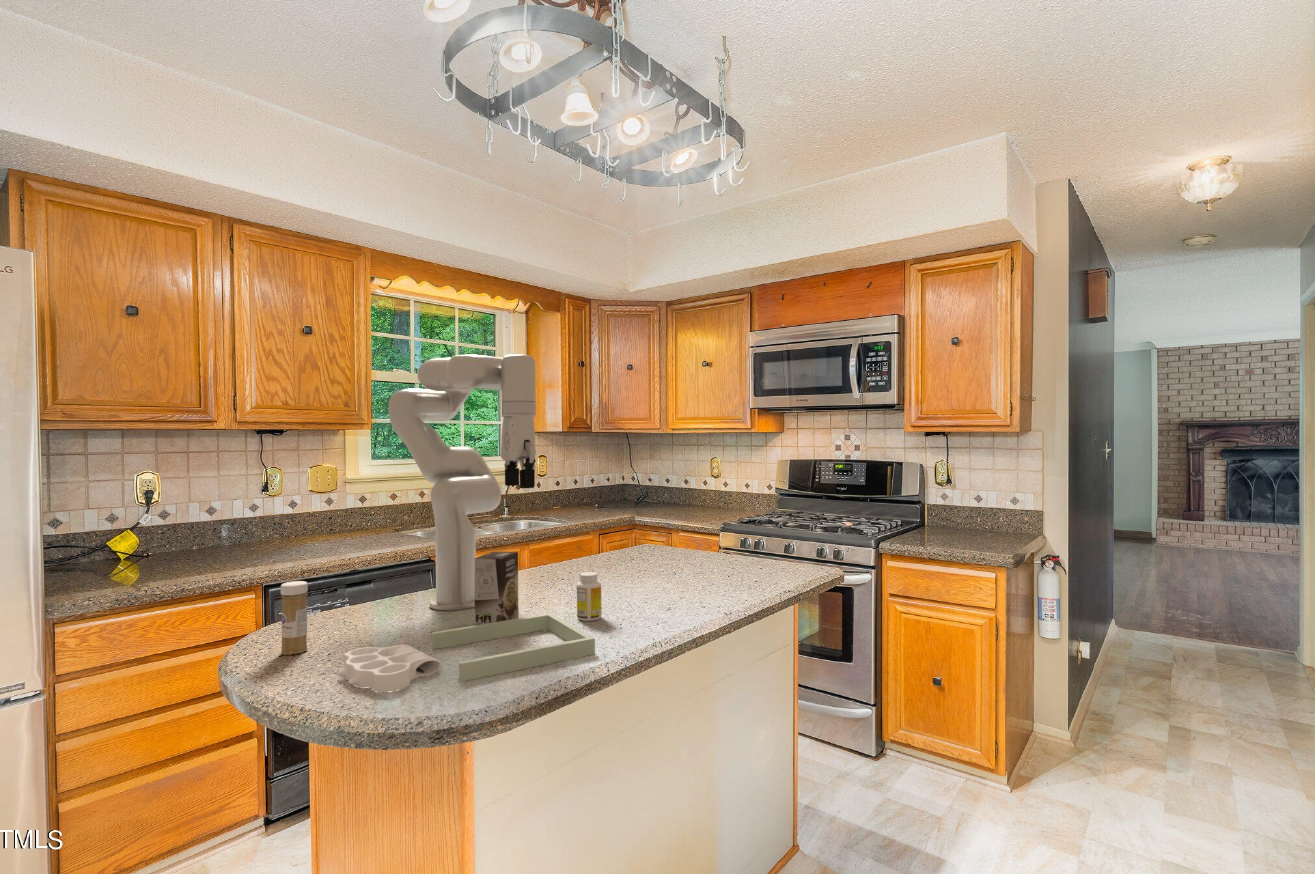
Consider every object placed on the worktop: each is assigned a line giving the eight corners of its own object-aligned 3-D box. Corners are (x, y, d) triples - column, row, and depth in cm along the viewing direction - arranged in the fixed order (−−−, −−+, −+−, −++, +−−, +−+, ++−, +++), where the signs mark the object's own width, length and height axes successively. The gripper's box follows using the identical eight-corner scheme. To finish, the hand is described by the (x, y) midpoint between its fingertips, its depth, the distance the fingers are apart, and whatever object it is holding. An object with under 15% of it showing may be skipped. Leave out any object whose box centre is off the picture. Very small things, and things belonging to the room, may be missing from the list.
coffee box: (502, 636, 135) (501, 558, 135) (473, 634, 136) (472, 557, 136) (520, 623, 144) (519, 551, 144) (493, 622, 145) (492, 550, 145)
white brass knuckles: (448, 678, 112) (361, 703, 102) (405, 655, 125) (323, 675, 115) (448, 659, 112) (361, 682, 102) (404, 637, 125) (323, 656, 115)
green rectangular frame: (431, 647, 128) (431, 632, 128) (551, 626, 141) (551, 613, 141) (460, 681, 110) (460, 664, 110) (594, 654, 123) (594, 638, 123)
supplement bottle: (602, 615, 150) (602, 571, 150) (600, 622, 144) (599, 576, 144) (578, 615, 150) (578, 571, 150) (575, 622, 145) (574, 576, 145)
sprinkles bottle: (275, 654, 125) (275, 584, 125) (296, 647, 129) (296, 579, 129) (292, 657, 123) (292, 586, 123) (313, 649, 127) (312, 581, 127)
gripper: (490, 411, 150) (491, 485, 150) (515, 408, 136) (516, 490, 136) (521, 412, 154) (522, 483, 154) (549, 408, 140) (550, 488, 140)
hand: (519, 486), depth 145 cm, fingers open, 9 cm apart
